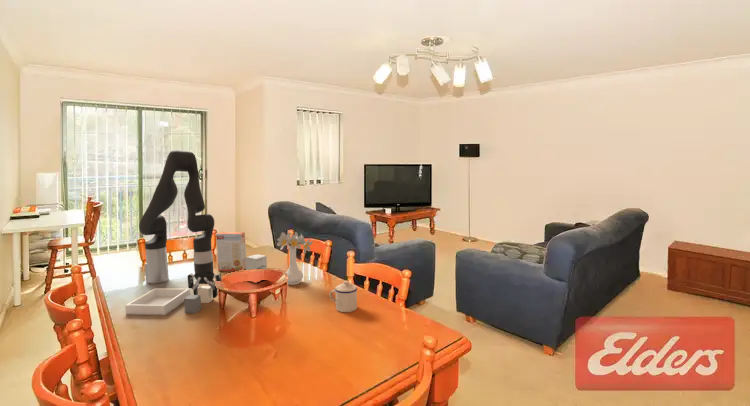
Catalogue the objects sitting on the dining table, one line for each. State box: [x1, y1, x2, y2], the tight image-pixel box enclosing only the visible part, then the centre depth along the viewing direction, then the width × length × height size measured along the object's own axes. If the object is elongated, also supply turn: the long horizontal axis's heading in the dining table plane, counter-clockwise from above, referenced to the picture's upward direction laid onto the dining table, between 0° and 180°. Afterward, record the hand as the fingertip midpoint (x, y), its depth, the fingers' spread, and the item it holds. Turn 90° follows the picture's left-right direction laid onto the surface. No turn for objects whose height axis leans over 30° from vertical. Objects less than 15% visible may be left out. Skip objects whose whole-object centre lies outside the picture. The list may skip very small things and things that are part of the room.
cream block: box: [197, 285, 214, 304], centre depth 174 cm, size 4×4×6 cm
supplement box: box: [245, 254, 268, 270], centre depth 201 cm, size 7×7×13 cm
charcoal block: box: [183, 294, 202, 314], centre depth 163 cm, size 4×4×6 cm
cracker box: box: [215, 231, 247, 272], centre depth 219 cm, size 14×6×21 cm, turn 84°
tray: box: [124, 287, 191, 316], centre depth 169 cm, size 16×20×4 cm
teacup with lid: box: [328, 280, 358, 313], centre depth 165 cm, size 12×9×12 cm
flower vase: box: [276, 231, 314, 286], centre depth 196 cm, size 13×18×25 cm
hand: (205, 297), depth 174 cm, fingers open, 7 cm apart
